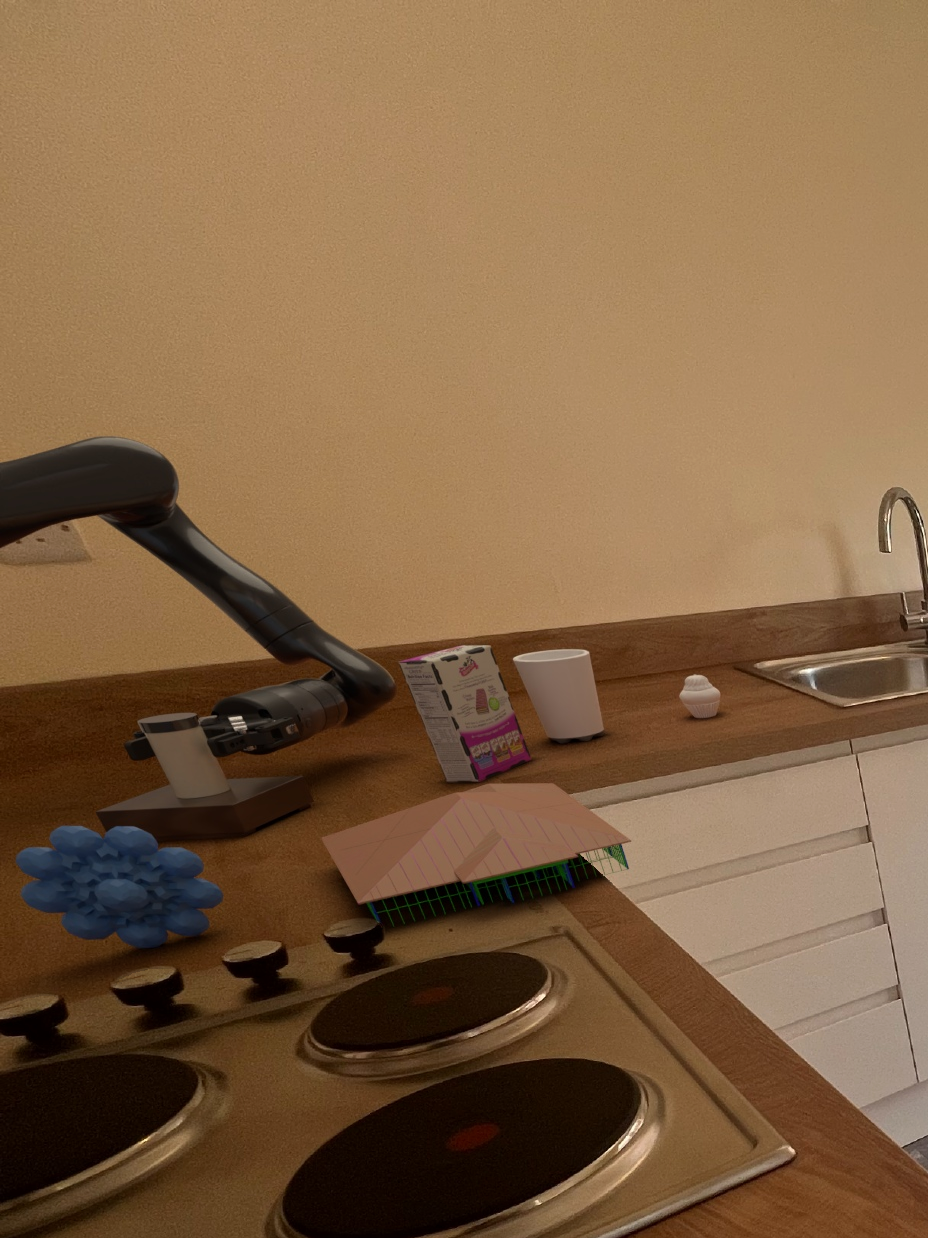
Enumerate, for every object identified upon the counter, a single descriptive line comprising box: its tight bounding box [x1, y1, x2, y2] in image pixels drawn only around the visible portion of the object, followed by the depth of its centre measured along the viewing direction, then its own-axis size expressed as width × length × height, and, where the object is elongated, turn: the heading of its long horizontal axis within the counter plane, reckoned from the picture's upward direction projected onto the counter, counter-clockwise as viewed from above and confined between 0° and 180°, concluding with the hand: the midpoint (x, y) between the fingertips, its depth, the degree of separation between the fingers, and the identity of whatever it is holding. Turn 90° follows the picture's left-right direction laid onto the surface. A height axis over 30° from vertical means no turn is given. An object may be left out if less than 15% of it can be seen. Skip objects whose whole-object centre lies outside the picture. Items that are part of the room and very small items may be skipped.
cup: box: [512, 648, 605, 744], centre depth 159 cm, size 10×10×13 cm
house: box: [320, 782, 632, 927], centre depth 111 cm, size 23×33×8 cm
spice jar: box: [137, 712, 231, 799], centre depth 122 cm, size 5×5×9 cm
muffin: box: [678, 673, 721, 719], centre depth 173 cm, size 6×6×7 cm
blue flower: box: [15, 825, 224, 949], centre depth 91 cm, size 12×7×12 cm, turn 134°
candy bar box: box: [397, 644, 532, 783], centre depth 142 cm, size 11×5×16 cm, turn 179°
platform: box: [95, 775, 315, 842], centre depth 125 cm, size 14×12×4 cm
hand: (172, 750), depth 120 cm, fingers open, 8 cm apart
